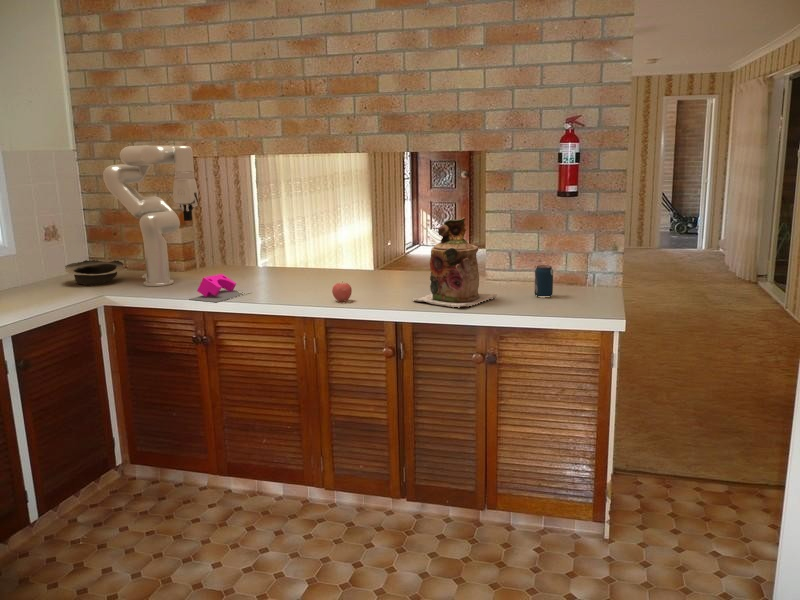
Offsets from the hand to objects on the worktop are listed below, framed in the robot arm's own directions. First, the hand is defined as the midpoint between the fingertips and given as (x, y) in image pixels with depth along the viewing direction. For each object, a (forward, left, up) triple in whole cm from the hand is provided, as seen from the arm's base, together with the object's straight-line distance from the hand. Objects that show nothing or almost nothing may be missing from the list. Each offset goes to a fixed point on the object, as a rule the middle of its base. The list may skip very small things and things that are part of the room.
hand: (188, 220), depth 294 cm
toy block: (+16, -7, -24) cm, 30 cm away
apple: (+73, +3, -29) cm, 79 cm away
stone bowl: (-52, -6, -30) cm, 60 cm away
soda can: (+141, +42, -29) cm, 150 cm away
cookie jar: (+112, +22, -29) cm, 118 cm away
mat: (+23, -8, -29) cm, 38 cm away
